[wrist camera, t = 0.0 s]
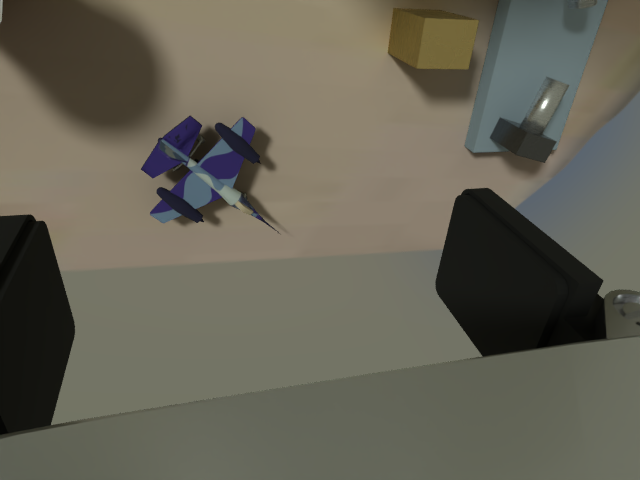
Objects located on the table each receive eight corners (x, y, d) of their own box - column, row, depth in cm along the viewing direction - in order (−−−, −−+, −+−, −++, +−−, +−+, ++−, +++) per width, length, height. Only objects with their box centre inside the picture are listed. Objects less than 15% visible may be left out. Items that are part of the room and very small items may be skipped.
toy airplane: (278, 223, 54) (283, 240, 51) (149, 227, 50) (147, 245, 47) (285, 110, 47) (292, 121, 44) (137, 105, 43) (134, 117, 40)
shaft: (516, 145, 53) (544, 162, 49) (489, 137, 52) (515, 154, 48) (552, 78, 50) (585, 91, 46) (524, 68, 49) (556, 80, 44)
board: (525, -112, 41) (539, -114, 40) (626, -100, 44) (643, -102, 42) (464, 146, 54) (473, 152, 52) (545, 143, 57) (556, 149, 55)
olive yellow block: (387, 52, 46) (416, 68, 41) (393, 8, 44) (425, 18, 38) (433, 53, 47) (468, 69, 42) (441, 10, 45) (479, 20, 40)
